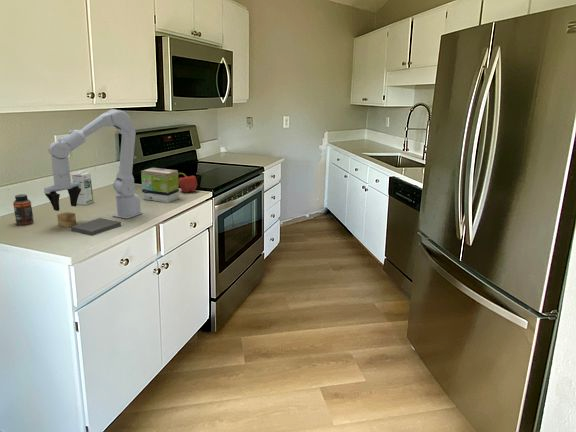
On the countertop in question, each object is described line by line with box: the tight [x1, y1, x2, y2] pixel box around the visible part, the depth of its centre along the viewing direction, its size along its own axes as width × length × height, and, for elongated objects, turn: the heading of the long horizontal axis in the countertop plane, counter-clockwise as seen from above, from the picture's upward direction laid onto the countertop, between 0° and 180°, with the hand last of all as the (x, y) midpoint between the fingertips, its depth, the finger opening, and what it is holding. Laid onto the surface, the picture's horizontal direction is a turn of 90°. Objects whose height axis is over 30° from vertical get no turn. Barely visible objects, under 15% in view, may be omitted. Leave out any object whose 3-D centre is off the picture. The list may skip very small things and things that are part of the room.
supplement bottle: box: [12, 193, 34, 226], centre depth 166 cm, size 6×6×11 cm
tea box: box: [140, 167, 180, 204], centre depth 209 cm, size 15×10×15 cm
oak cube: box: [56, 211, 77, 228], centre depth 167 cm, size 4×4×4 cm
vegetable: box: [178, 172, 198, 193], centre depth 227 cm, size 11×10×10 cm
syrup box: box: [71, 171, 94, 206], centre depth 196 cm, size 6×6×14 cm
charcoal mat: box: [70, 217, 122, 236], centre depth 164 cm, size 14×11×2 cm
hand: (65, 208), depth 166 cm, fingers open, 7 cm apart
